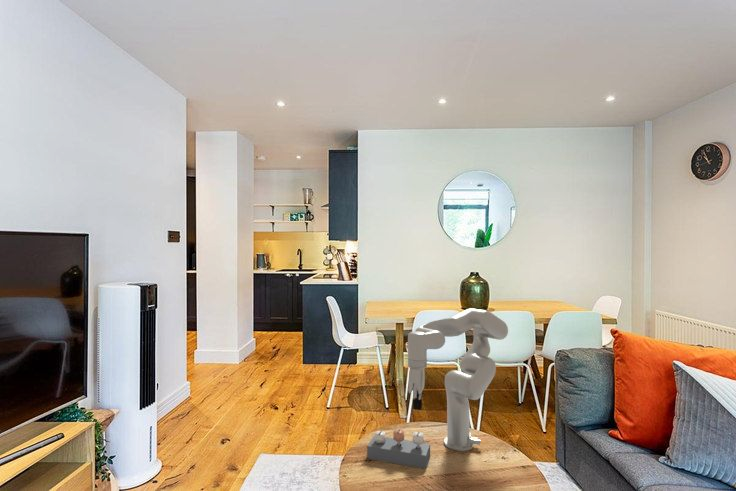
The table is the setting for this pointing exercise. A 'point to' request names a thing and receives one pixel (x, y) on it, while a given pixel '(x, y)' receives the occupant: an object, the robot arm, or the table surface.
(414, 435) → the knob near
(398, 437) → the knob middle
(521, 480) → the table surface
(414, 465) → the control rail
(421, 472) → the table surface
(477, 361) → the robot arm
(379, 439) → the knob far
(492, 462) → the table surface
